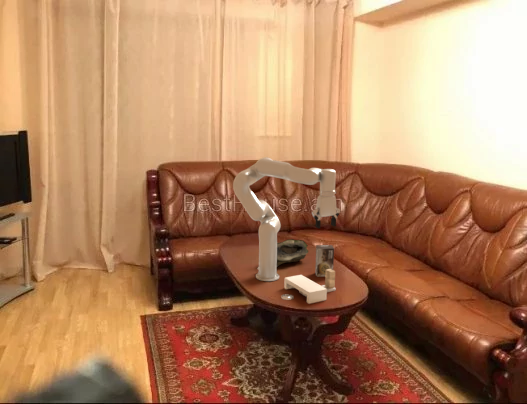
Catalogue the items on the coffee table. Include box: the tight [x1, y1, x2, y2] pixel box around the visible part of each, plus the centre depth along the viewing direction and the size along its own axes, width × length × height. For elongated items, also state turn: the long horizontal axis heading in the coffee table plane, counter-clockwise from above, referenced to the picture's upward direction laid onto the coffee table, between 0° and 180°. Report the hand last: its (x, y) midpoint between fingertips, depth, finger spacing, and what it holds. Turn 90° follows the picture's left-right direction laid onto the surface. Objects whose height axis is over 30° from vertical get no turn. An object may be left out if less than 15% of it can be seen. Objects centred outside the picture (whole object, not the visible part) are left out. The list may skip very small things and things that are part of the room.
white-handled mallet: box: [298, 269, 337, 298], centre depth 238 cm, size 6×18×10 cm, turn 120°
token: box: [280, 293, 294, 301], centre depth 231 cm, size 6×6×1 cm
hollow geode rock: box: [277, 238, 309, 267], centre depth 282 cm, size 28×13×15 cm
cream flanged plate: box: [283, 274, 328, 305], centre depth 235 cm, size 22×10×6 cm, turn 30°
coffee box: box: [314, 244, 335, 278], centre depth 261 cm, size 9×6×16 cm
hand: (325, 226), depth 245 cm, fingers open, 9 cm apart
